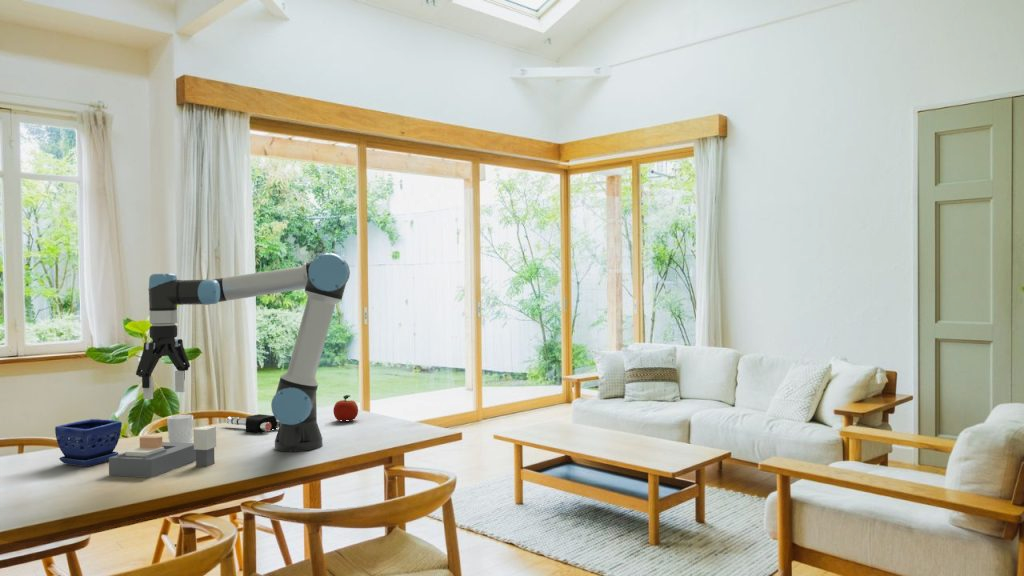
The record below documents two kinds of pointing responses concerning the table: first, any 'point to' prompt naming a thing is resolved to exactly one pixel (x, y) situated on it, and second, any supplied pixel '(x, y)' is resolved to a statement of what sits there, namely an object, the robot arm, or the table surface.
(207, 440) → the plug
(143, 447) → the tan and grey block
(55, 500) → the table surface
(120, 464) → the socket
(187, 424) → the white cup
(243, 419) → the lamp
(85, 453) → the flower pot
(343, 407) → the fruit
